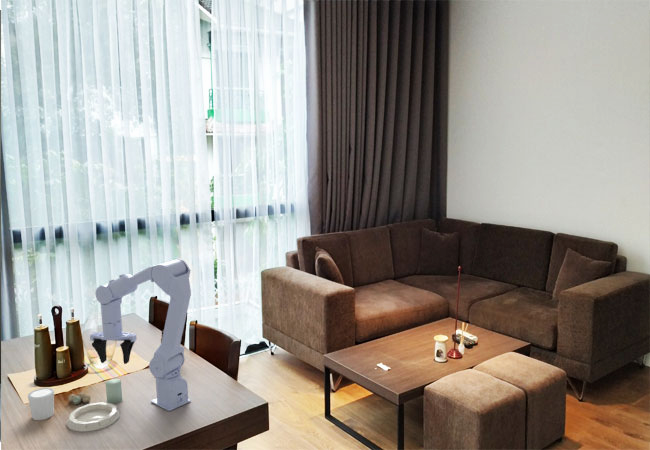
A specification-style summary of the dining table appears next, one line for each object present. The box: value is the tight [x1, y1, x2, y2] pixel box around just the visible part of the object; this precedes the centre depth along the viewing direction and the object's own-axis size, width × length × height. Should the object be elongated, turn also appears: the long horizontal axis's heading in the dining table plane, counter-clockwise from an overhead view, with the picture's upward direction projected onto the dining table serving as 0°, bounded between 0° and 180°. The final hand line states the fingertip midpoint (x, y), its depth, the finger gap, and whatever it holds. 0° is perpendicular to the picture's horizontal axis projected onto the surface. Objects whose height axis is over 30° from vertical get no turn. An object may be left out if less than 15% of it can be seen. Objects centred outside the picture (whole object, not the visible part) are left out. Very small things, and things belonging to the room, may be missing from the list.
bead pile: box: [67, 392, 91, 405], centre depth 170 cm, size 6×5×2 cm
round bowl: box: [66, 401, 121, 433], centre depth 160 cm, size 14×14×2 cm
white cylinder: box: [27, 387, 55, 421], centre depth 162 cm, size 7×7×7 cm
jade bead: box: [105, 378, 123, 405], centre depth 171 cm, size 4×4×6 cm
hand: (115, 362), depth 177 cm, fingers open, 7 cm apart
